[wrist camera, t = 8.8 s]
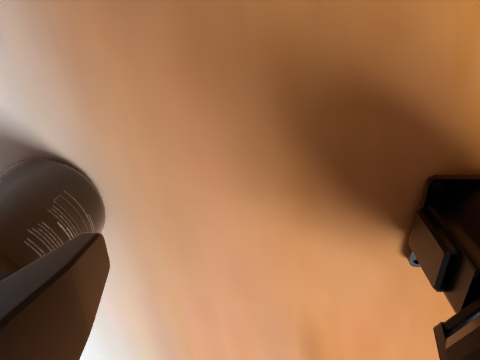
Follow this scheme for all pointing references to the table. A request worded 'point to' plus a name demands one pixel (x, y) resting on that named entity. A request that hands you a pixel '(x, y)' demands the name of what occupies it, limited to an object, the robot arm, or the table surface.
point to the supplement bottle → (43, 210)
